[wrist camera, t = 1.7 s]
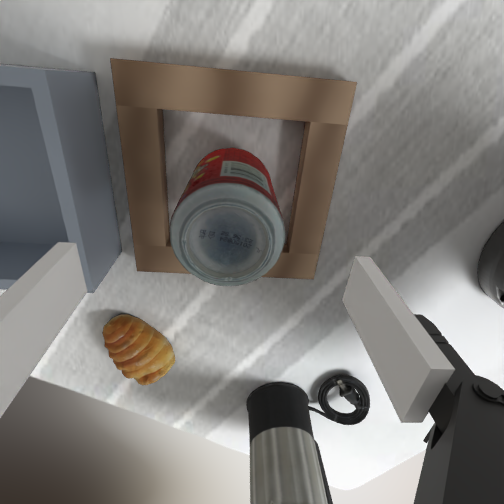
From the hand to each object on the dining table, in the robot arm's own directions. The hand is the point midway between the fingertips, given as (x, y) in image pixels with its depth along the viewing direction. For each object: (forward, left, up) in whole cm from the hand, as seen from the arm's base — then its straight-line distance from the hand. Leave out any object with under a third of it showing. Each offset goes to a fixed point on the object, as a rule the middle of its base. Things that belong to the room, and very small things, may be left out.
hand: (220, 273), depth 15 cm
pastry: (+10, +22, -16) cm, 28 cm away
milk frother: (-12, +31, -16) cm, 37 cm away
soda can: (0, 0, -16) cm, 16 cm away
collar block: (0, 0, -15) cm, 15 cm away
